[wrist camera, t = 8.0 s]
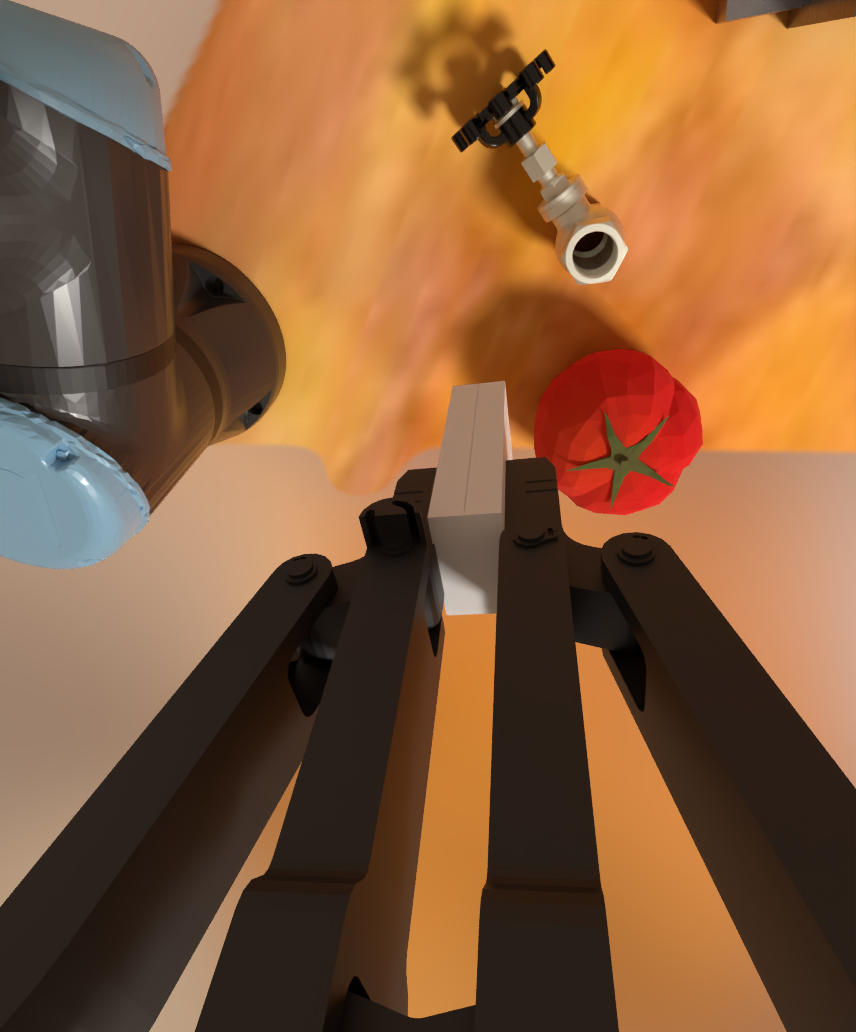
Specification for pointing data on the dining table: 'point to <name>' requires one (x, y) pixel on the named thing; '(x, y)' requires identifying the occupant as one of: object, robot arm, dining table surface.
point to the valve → (550, 178)
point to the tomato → (617, 431)
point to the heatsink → (806, 5)
